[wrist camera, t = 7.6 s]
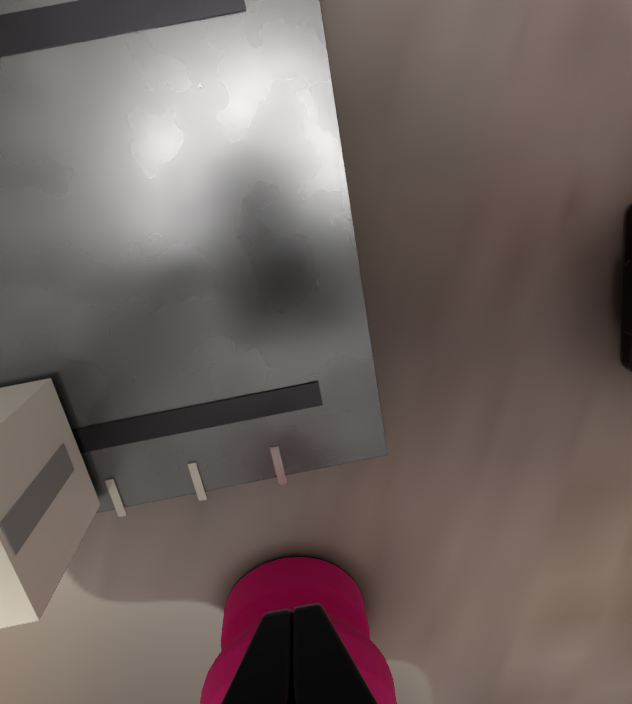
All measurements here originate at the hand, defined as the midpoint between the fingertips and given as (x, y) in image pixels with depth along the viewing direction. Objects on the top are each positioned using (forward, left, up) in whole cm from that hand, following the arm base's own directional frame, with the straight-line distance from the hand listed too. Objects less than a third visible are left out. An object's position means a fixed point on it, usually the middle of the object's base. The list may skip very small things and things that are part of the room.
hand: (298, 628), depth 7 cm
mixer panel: (+6, -5, -12) cm, 14 cm away
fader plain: (+9, +1, -10) cm, 14 cm away
